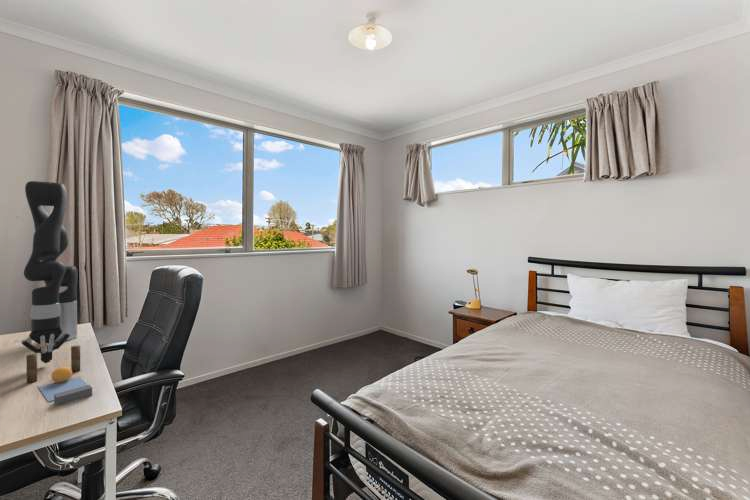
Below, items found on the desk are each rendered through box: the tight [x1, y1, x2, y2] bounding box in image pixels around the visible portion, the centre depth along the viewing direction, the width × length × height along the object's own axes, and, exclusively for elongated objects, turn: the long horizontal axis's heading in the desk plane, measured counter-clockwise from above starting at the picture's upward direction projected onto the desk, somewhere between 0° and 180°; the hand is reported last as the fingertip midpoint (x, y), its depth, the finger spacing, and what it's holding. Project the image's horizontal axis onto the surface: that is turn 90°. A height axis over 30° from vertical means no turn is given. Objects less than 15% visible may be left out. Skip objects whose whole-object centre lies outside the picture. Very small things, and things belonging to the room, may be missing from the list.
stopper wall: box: [53, 384, 93, 407], centre depth 98 cm, size 3×8×2 cm, turn 145°
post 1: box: [25, 353, 38, 384], centre depth 107 cm, size 2×2×9 cm
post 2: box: [70, 344, 81, 374], centre depth 116 cm, size 2×2×9 cm
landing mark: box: [38, 376, 88, 403], centre depth 104 cm, size 14×10×1 cm
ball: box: [51, 366, 73, 383], centre depth 108 cm, size 5×5×5 cm
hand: (46, 362), depth 119 cm, fingers closed
